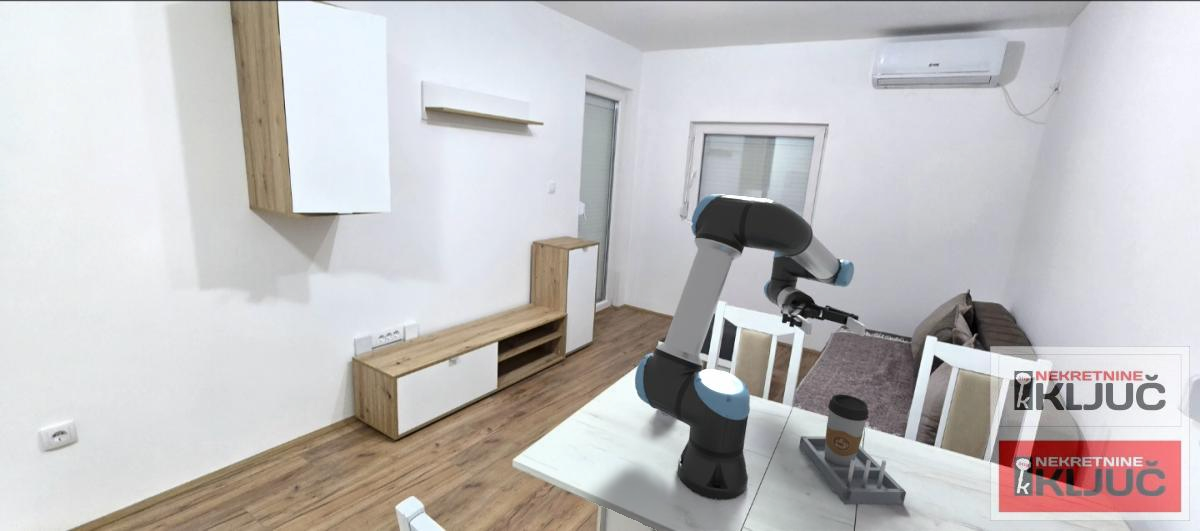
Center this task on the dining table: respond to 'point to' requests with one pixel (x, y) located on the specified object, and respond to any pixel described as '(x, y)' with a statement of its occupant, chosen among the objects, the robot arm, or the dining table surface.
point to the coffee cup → (844, 429)
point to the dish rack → (854, 476)
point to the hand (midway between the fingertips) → (837, 330)
